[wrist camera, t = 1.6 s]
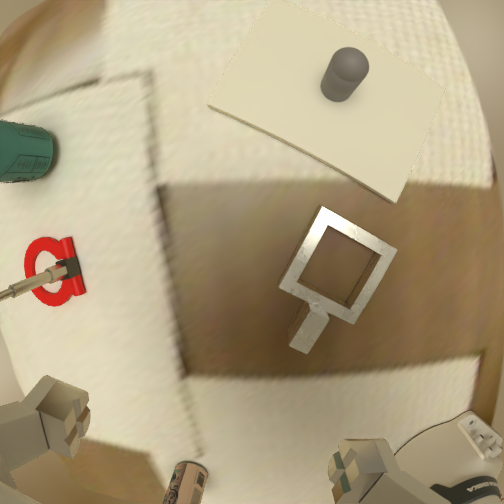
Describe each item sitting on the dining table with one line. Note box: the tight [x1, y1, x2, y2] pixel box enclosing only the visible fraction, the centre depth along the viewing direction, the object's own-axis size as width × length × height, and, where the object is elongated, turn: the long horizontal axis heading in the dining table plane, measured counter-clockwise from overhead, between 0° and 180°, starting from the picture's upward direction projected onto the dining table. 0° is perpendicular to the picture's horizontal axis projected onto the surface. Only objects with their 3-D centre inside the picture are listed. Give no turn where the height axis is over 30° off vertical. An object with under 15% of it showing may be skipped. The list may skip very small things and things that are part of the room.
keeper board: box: [206, 0, 445, 203], centre depth 24 cm, size 20×14×9 cm
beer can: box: [163, 463, 208, 504], centre depth 32 cm, size 5×5×12 cm
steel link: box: [278, 206, 397, 354], centre depth 30 cm, size 12×8×4 cm
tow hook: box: [0, 237, 85, 307], centre depth 28 cm, size 8×13×9 cm
